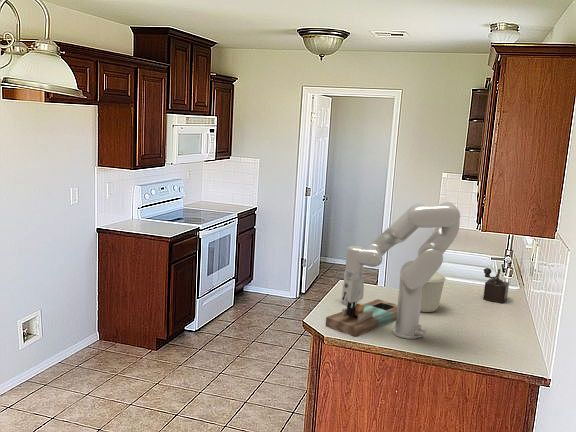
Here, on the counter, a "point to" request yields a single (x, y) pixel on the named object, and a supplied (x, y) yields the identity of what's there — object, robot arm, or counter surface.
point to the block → (359, 309)
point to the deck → (364, 318)
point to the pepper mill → (495, 288)
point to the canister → (432, 293)
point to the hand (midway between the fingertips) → (350, 315)
